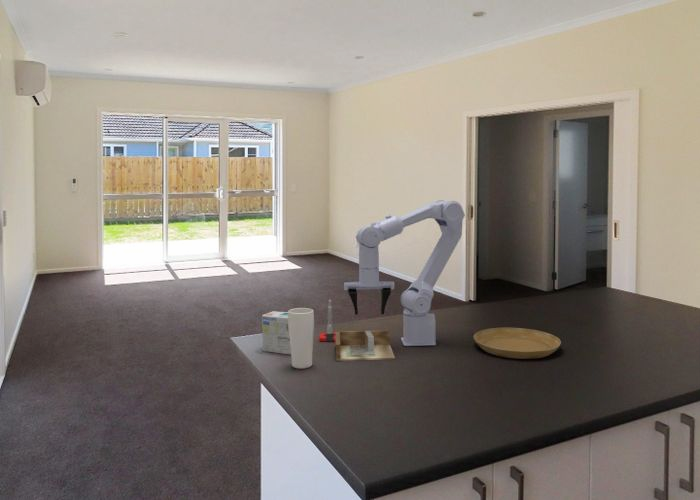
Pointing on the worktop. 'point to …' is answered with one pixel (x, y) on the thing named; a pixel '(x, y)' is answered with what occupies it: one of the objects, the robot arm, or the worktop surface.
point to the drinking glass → (301, 336)
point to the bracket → (364, 346)
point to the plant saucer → (517, 342)
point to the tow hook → (328, 328)
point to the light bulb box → (276, 332)
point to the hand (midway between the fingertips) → (369, 313)
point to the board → (379, 354)
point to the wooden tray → (360, 338)
